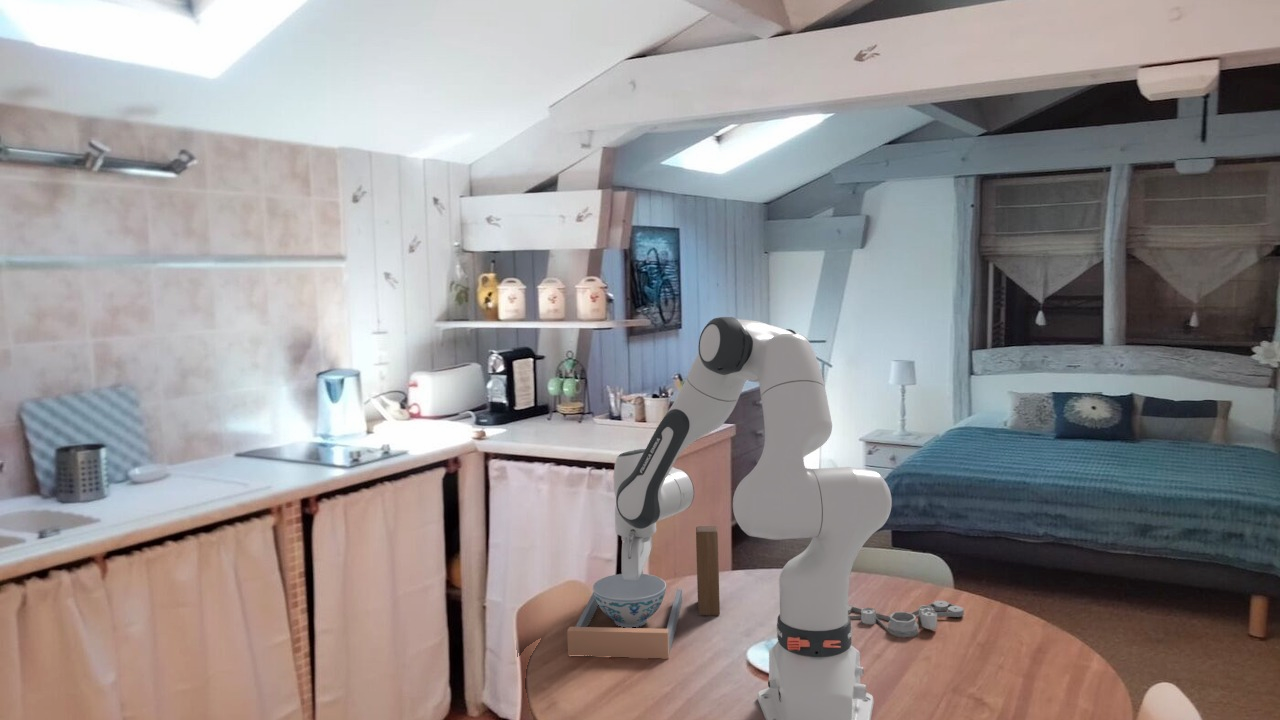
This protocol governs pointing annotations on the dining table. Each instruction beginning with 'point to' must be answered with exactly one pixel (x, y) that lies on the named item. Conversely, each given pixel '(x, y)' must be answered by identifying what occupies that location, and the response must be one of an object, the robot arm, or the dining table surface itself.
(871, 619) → the pulley system
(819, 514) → the robot arm
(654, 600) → the chinaware
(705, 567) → the wooden block
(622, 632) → the wooden tray
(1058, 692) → the dining table surface
